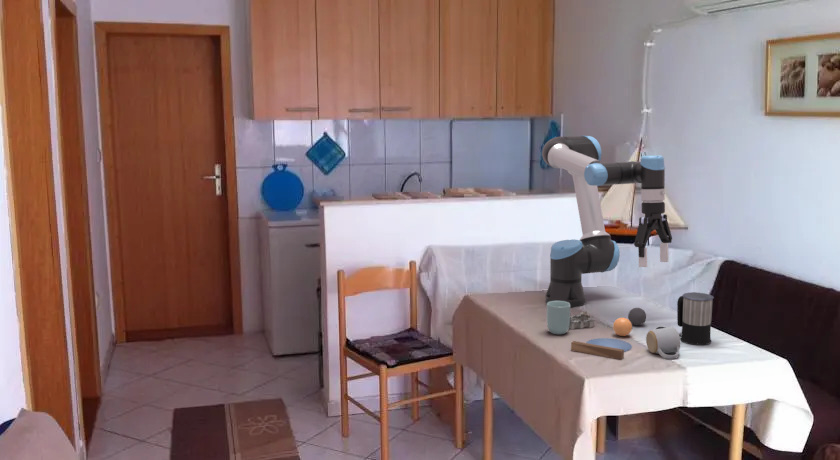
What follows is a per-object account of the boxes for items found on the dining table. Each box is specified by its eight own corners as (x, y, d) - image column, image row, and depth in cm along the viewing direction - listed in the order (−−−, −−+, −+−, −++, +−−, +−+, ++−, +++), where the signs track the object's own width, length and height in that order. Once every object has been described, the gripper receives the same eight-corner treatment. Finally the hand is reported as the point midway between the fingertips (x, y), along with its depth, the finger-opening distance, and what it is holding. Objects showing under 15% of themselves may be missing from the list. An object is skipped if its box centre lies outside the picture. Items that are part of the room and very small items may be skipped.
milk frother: (717, 342, 243) (720, 296, 240) (684, 351, 234) (686, 304, 232) (681, 331, 254) (682, 287, 252) (648, 339, 246) (649, 294, 244)
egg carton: (587, 322, 267) (587, 311, 266) (596, 328, 260) (597, 317, 259) (558, 324, 265) (558, 313, 264) (566, 330, 258) (567, 319, 257)
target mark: (596, 336, 250) (596, 335, 250) (638, 343, 243) (638, 342, 243) (578, 347, 239) (578, 347, 239) (622, 355, 231) (622, 355, 231)
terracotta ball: (616, 331, 255) (617, 314, 254) (634, 334, 251) (635, 317, 250) (610, 336, 250) (610, 318, 249) (628, 339, 246) (628, 321, 245)
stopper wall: (573, 348, 238) (573, 340, 238) (623, 357, 229) (624, 349, 229) (571, 350, 237) (571, 342, 236) (621, 359, 228) (621, 351, 227)
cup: (569, 336, 250) (570, 307, 249) (545, 335, 252) (546, 306, 250) (570, 329, 258) (570, 301, 256) (546, 328, 259) (547, 300, 258)
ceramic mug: (644, 349, 237) (645, 325, 235) (668, 347, 238) (669, 323, 237) (660, 361, 227) (661, 336, 225) (686, 359, 228) (687, 334, 226)
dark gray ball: (631, 321, 266) (631, 304, 265) (648, 324, 263) (649, 307, 262) (625, 325, 261) (625, 308, 260) (642, 328, 258) (643, 311, 257)
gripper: (643, 204, 247) (643, 269, 249) (682, 199, 263) (682, 260, 265) (622, 204, 252) (623, 268, 254) (662, 198, 269) (662, 259, 271)
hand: (653, 264), depth 260 cm, fingers open, 13 cm apart
